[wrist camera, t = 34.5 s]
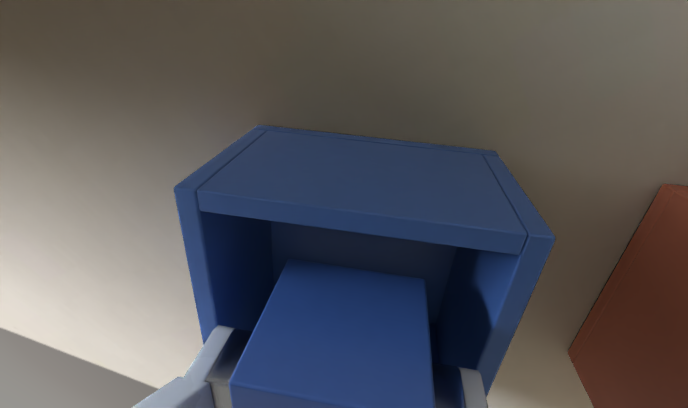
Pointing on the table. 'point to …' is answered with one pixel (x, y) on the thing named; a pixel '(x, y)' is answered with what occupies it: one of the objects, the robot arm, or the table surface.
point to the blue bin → (366, 231)
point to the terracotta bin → (642, 317)
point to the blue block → (338, 342)
